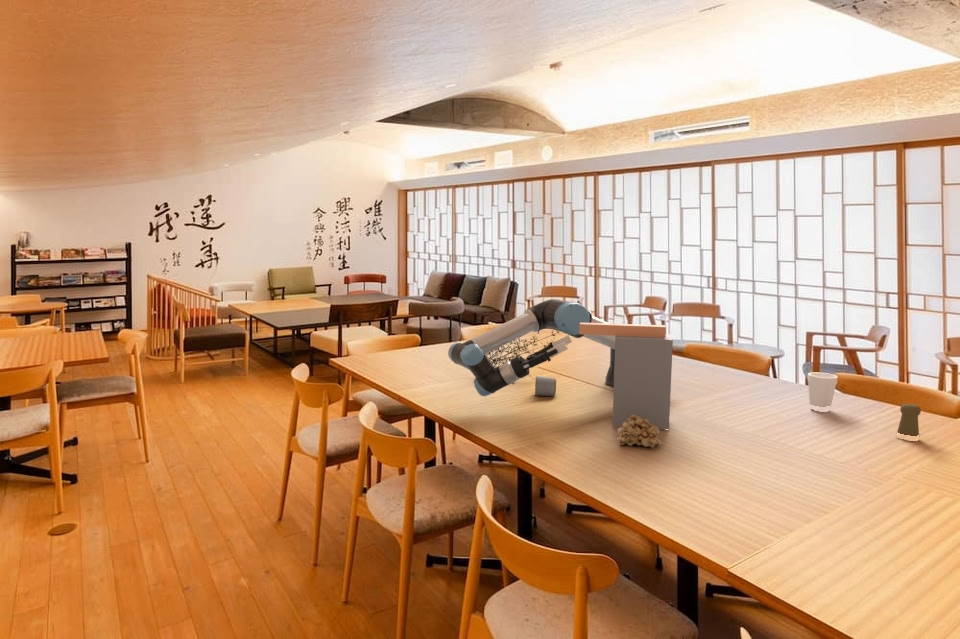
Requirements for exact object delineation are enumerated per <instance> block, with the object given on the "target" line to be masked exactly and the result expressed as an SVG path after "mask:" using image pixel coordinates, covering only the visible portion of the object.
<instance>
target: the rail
mask: <svg viewBox="0 0 960 639" xmlns="http://www.w3.org/2000/svg"><path fill="white" fill-rule="evenodd" d="M608 323H609V322H607V323H580V324H579V334H585V335H611V336H637V337H663V338H666V334H667V332H666V331H667V326H666V325H665V324H662V325H661V324H659V325H658V324H637V323H636V324H633V323H629V324H628V323H610V324H608Z"/></svg>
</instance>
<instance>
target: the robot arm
mask: <svg viewBox="0 0 960 639" xmlns="http://www.w3.org/2000/svg"><path fill="white" fill-rule="evenodd" d="M580 323H608V324H611V323H609V322H607V321H605V320H602V319H600V318H598V317H597V316H593V314H592V312H591V311H590V310H589V309H587V308H586V307H585V306H584V305H583V304H581V303H579V302H575V301H567V300H560V299H555V298H553V299H547V300H544V301H541V302H539V303H537V304H534V305H533V306H530V307H528V308H527V309H525V310H524V311H523V313H522V314H520V315H518V316H516V317H514V318H512V319H511V320H508V321H506V322H503V323H502V324H500V325H497V326H495V327H494V328H492V329H490V330H488V331H485V332H483V333H482V334H479V335H477V336H476V337H473V338H471V339H469V340H466V341H464V342H456V343H453V344H451V346H449V349H448V350H447V351H448V352H447V354H448V358H449V359H450V361H452V362H453V363H454V364H456V365H459V366H461V367H463V368H465V369H467V370H469V371H470V372H471V374H472V375H473V376H474V377H475V378H474V380H473V386H474V388H475V390H476V392H477V393H478V394H479V396H481V397H487V396H489V395H492V394H495V393H496V392H497V391H500V390H501V389H503V388H504V387H508V386H509V385H511V384H512V385H515V384H516V382H517V381H519V380H520V379H523V378H525V377H527V376H529V375H530V370H529V369H533V368H534V367H536V366H539V365H540V364H543V363H544V362H551V361H552V358H554V357H556V356H557V355H559V354H562V353H563V352H565V351H568V350H569V348H568V346H567V345H569V344H571V343H572V342H573V341H572V339H571V337H573V338H576V339H581V338H586V339H588V340H589V341H594V342H596V343H598V344H601V345H602V346H605V347H607V348H610V350H609V351H610V352H609V353H610V354H609V355H610V357H609V360H610V361H609V367H608V370H607V373H606V376H605V379H604V380H605V381H604V382H605V384H606V385H608V386H611V387H614V363H615V336H611V335H585V334H579V324H580ZM543 330H552V331H556V332H559V331H560V332H559V333H563V334H566V336H564V337H562V338H559V339H557V340H556V342H555V341H553V342H554V343H552V341H550V342H549V345H548V344H547V345H546V346H545V348H544V347H542V348H541V349H540V350H538V351H535V352H534V353H533V352H532V353H530V354H528V356H527V357H525V358H524V357H523V356H521V355H519V356H517V357H516V356H515V358H513V359H512V358H510V359H511V361H509V360H507V361H504V362H505V363H503V362H502V363H503V364H502V363H500V365H498V366H495V365H494V364H491V362H490V360H489V358H488V357H486V356H487V355H488V353H489V352H491V351H492V352H494V351H496V350H495V349H497V348H499V347H500V348H501V346H506V344H507V345H508V344H510V343H511V341H512V342H513V341H514V340H515V339H518V338H519V339H521V337H523V336H525V335H527V334H529V333H531V332H534V333H538V331H539V332H540V331H543ZM570 336H571V337H570ZM519 339H518V340H519ZM515 341H516V340H515ZM509 342H510V343H509ZM500 348H499V349H500ZM493 350H494V351H493ZM497 350H498V349H497ZM492 352H491V353H492ZM486 354H487V355H486ZM523 358H524V359H526V360H524V359H523ZM494 366H495V367H496V368H495V367H494Z"/></svg>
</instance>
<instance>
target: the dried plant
mask: <svg viewBox="0 0 960 639" xmlns="http://www.w3.org/2000/svg"><path fill="white" fill-rule="evenodd" d="M553 332H554V330H552V331H551V335H549V336H546V337H544V338H541V339H538V337H536V335H537V334H538V335H539V334H540V331H538V332H537V334H536V335H532V338H530V341H528V339H527V338H525V339H521V338H518V339H515V340H513V341H511V342H509V343H507V344H505V345H503V346H501V347H499V348H497V349H495V350H493V351H491V352H489V353H487V354H485V355H486V357H487V358H488V359H489V361H490V362H491V364H492V365H493V366H494V368H496V367H497V365H498V366H500V365H501V364H503V363H505V362H507V361H511V359H513V358H515V357H517V356H521V355H524V354H531V352H532V354H533V353H535V352H534V351H535V350H537V349H540V348H545V347H546V346H548V345H549V344H550V342H552V343H554V342H556V341H557V340H556V341H554V340H555V337H556V334H559V335H561V332H560V331H556V332H555V333H553ZM552 336H553V340H552V339H550V342H548V341H546V344H544V345H543V342H541V341H542V340H544V339H547V338H549V337H552ZM517 340H518V341H517ZM532 340H533V341H532ZM521 342H522V343H523V345H521ZM537 342H540V344H541V345H542V346H539V347H537V346H538V343H537ZM513 344H514V345H513ZM511 345H513V348H512V346H511ZM529 345H532V346H533V347H537V348H532V349H531V350H529ZM505 346H507V347H505ZM500 348H501V349H500ZM519 352H520V353H519ZM503 353H505V354H504V355H503ZM510 354H511V355H510ZM509 355H510V356H509ZM523 359H524V360H526V358H524V357H523ZM530 369H531V368H529V371H530ZM528 377H530V378H531V379H534V380H536V377H535V378H533V376H532V375H530V374H529V375H528Z"/></svg>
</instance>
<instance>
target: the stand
mask: <svg viewBox="0 0 960 639" xmlns="http://www.w3.org/2000/svg"><path fill="white" fill-rule="evenodd" d="M673 342H674V340H673V337H672V334H671V333H666V338H663V337H637V336H615V363H614V386H613V395H612V396H613V398H612V399H613V401H612V427H614V426H617V428H621V426H622V423H623V422H624V421H626V420H627V418H630V416H631V415H636V416H639V417H640V418H641V419H647V420H648V421H649V423H650V424H651V425H655V426H657V427H658V429H669V430H670V414H671V413H670V412H671V409H670V408H671V392H672V391H671V390H672V389H671V388H672V367H673V363H672V362H673V348H674V347H673V344H674V343H673Z"/></svg>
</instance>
